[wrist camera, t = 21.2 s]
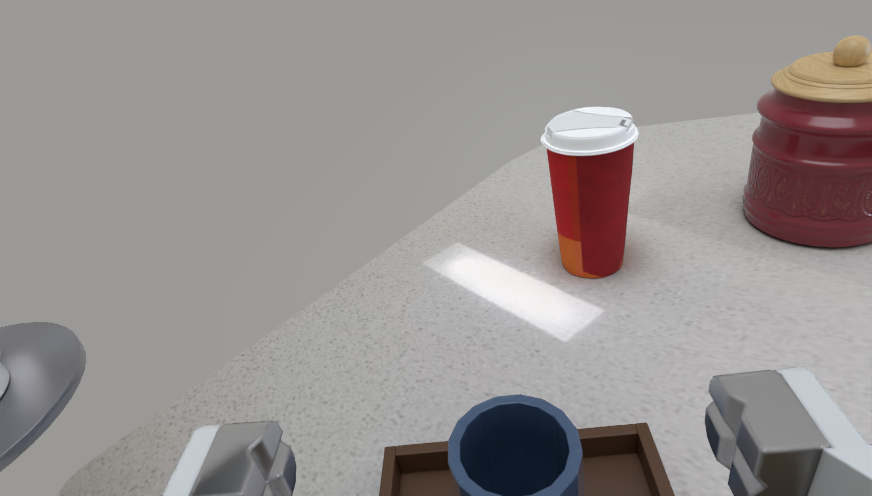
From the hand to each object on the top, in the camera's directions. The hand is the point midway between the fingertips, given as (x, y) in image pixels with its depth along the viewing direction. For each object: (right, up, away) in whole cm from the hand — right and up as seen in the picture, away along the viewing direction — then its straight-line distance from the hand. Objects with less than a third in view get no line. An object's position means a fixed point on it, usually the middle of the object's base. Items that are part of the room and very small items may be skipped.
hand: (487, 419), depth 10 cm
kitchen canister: (+38, +6, +45) cm, 59 cm away
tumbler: (+4, -15, +21) cm, 26 cm away
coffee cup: (+15, +2, +45) cm, 47 cm away
